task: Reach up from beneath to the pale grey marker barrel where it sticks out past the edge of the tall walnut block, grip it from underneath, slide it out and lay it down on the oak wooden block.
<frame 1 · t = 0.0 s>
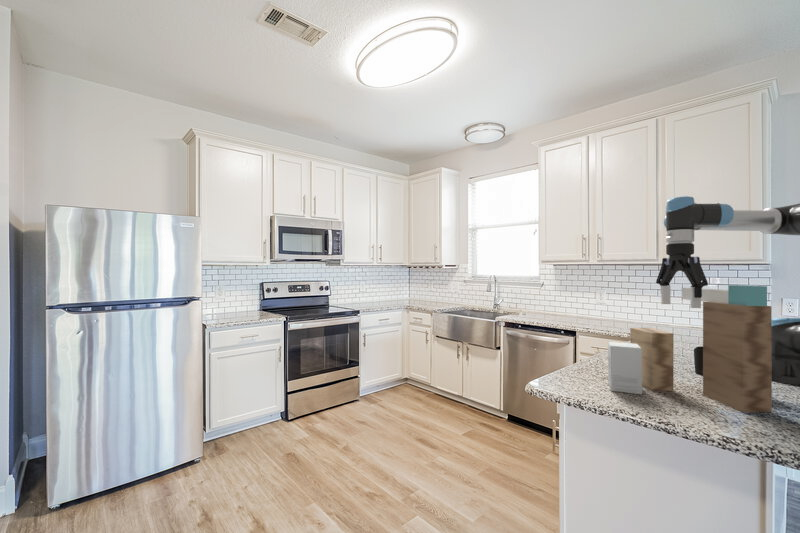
hand: (679, 306, 124), 28 cm above the countertop, tool pointing down, fingers open, 13 cm apart
tall block: (735, 403, 110), on the countertop
marker: (710, 301, 120), point 30 cm above the countertop, touching tall block
supplement box: (624, 389, 123), on the countertop
pen holder: (709, 375, 142), on the countertop
wooden block: (650, 384, 128), on the countertop
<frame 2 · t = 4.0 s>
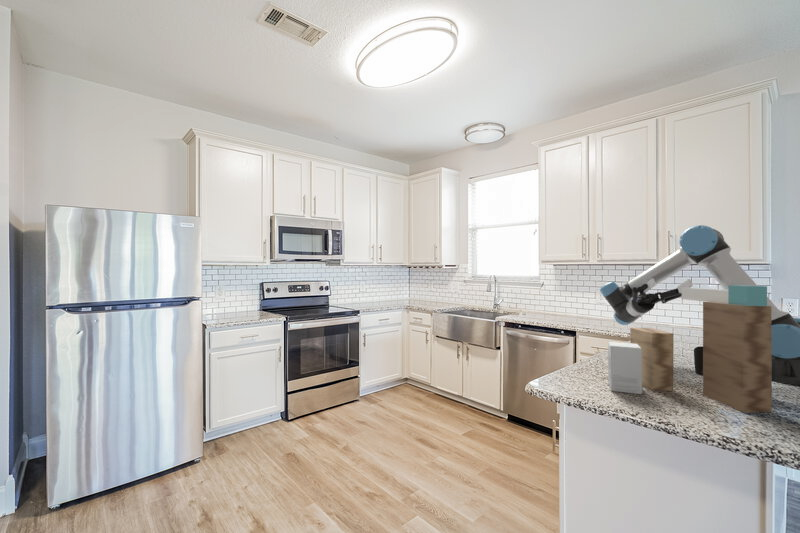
hand: (672, 281, 138), 36 cm above the countertop, tool pointing upward, fingers open, 13 cm apart
nothing on the countertop moved.
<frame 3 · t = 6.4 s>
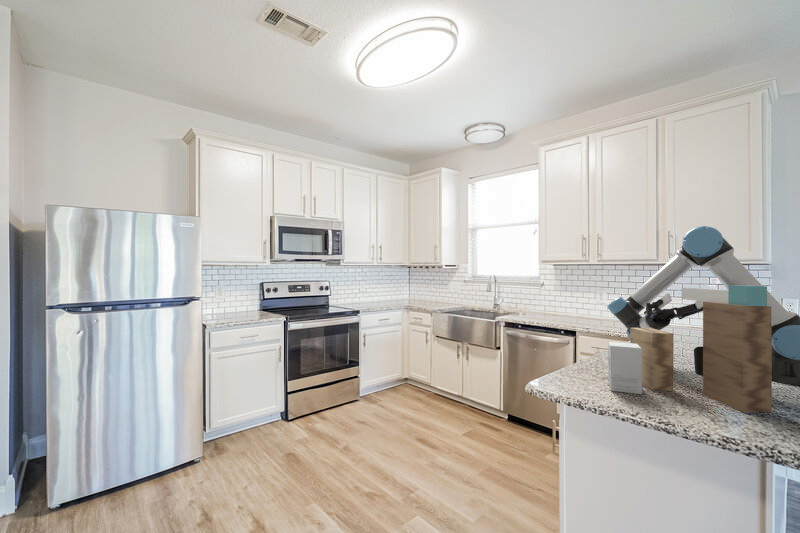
hand: (689, 297, 128), 31 cm above the countertop, tool pointing upward, fingers open, 13 cm apart
nothing on the countertop moved.
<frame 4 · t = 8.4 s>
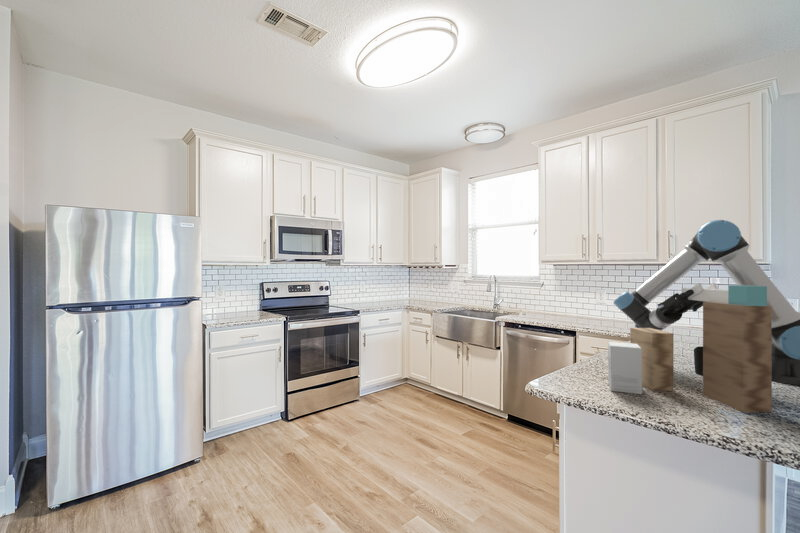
hand: (708, 286, 121), 35 cm above the countertop, tool pointing upward, fingers closed on marker, 4 cm apart
marker: (710, 301, 120), point 30 cm above the countertop, touching gripper, tall block
everything else where it was.
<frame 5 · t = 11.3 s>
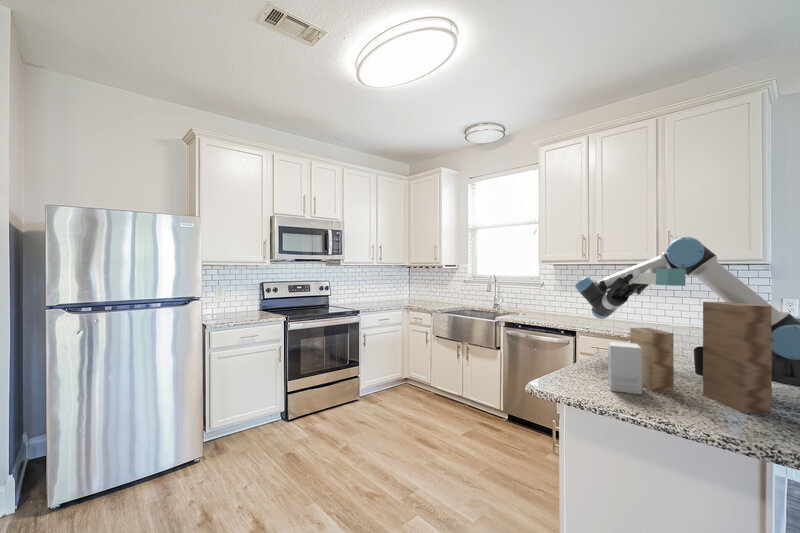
hand: (644, 271, 137), 40 cm above the countertop, tool pointing upward, fingers closed on marker, 4 cm apart
marker: (646, 283, 136), point 35 cm above the countertop, touching gripper
everything else where it was.
when the fingers open (25 cm above the countertop, at t = 14.0 s): marker drops 1 cm, resting on wooden block.
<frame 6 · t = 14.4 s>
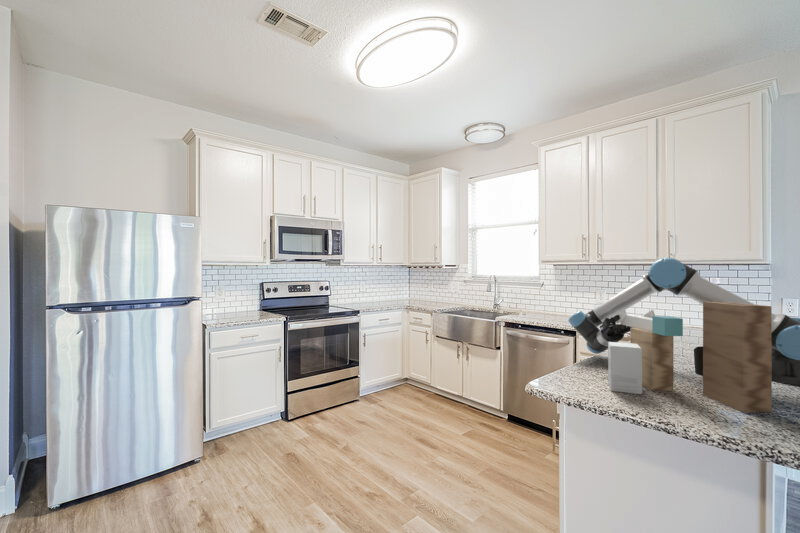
hand: (639, 313, 135), 24 cm above the countertop, tool pointing upward, fingers open, 9 cm apart
marker: (642, 328, 133), point 19 cm above the countertop, touching wooden block
everything else where it was.
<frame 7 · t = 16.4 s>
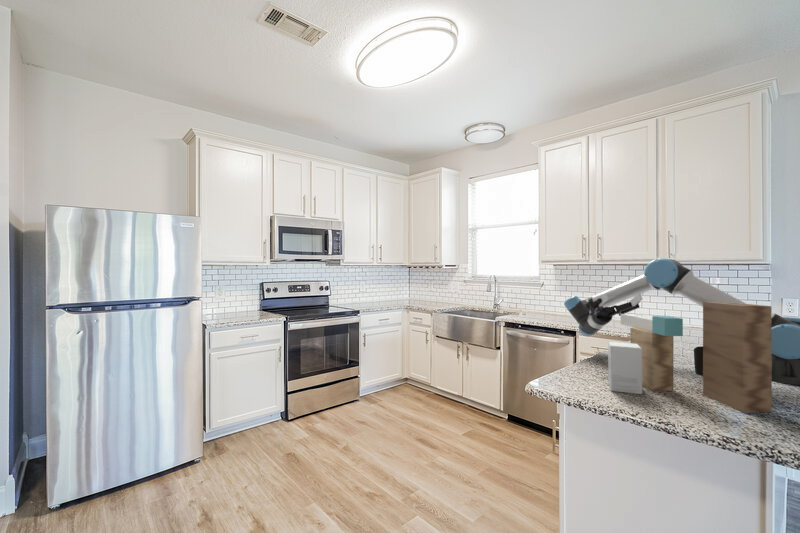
hand: (623, 296, 147), 30 cm above the countertop, tool pointing upward, fingers open, 13 cm apart
nothing on the countertop moved.
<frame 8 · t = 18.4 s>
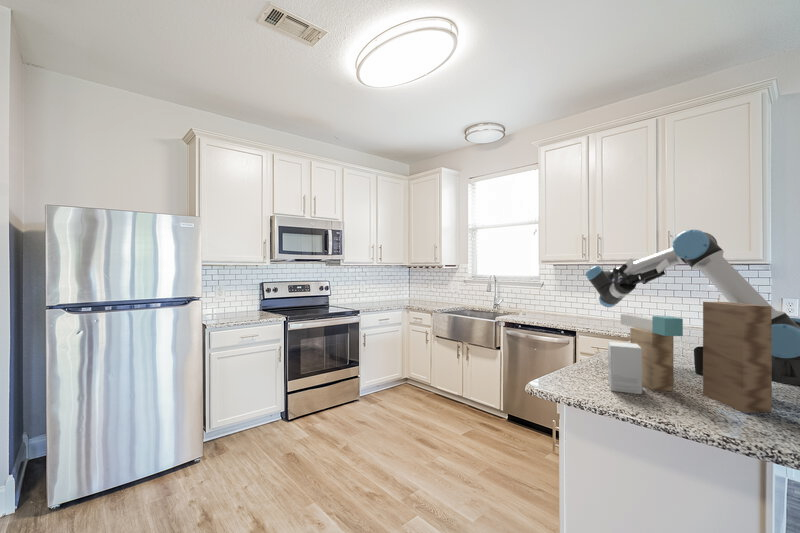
hand: (649, 261, 144), 44 cm above the countertop, tool pointing upward, fingers open, 13 cm apart
nothing on the countertop moved.
at the end: marker inside the target area on the wooden block (0.9 cm from its centre), point 19.0 cm above the wooden block's base; marker touching wooden block; the gripper is holding nothing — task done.
